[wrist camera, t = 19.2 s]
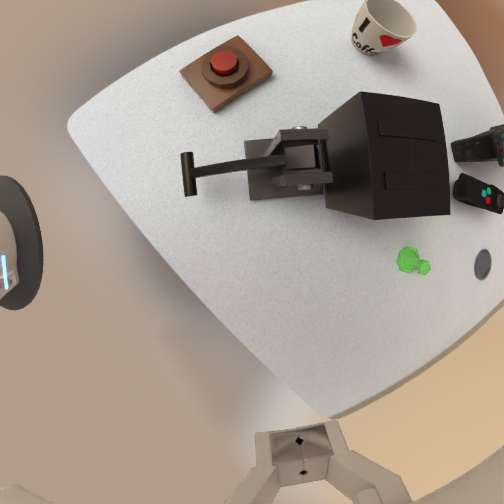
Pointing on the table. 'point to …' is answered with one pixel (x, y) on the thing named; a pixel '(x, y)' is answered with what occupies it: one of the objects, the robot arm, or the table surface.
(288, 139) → the toaster bracket
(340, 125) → the toaster
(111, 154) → the table surface
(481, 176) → the table surface
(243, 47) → the control block
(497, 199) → the controller
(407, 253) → the game piece
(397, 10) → the cup
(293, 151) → the toaster lever
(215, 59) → the button
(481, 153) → the ceramic cat
